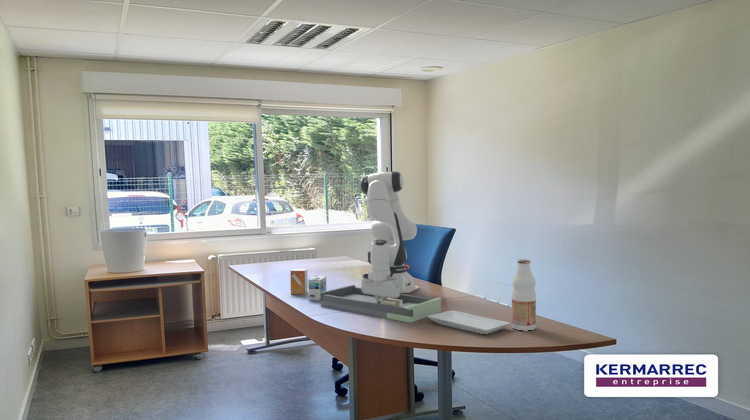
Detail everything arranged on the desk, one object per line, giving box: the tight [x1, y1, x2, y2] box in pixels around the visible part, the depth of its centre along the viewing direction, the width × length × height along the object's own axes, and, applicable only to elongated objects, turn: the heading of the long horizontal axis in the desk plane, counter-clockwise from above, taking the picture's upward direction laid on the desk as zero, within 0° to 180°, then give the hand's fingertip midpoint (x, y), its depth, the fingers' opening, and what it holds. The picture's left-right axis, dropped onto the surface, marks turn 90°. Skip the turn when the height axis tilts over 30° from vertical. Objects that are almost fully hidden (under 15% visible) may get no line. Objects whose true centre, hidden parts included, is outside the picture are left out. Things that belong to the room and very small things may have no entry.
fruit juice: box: [511, 259, 537, 332], centre depth 227 cm, size 9×9×28 cm
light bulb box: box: [308, 275, 327, 302], centre depth 289 cm, size 11×7×11 cm, turn 169°
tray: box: [426, 310, 512, 335], centre depth 232 cm, size 17×32×4 cm, turn 42°
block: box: [380, 298, 402, 307], centre depth 254 cm, size 6×8×4 cm
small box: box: [290, 268, 309, 296], centre depth 302 cm, size 8×6×13 cm
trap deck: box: [320, 284, 442, 323], centre depth 265 cm, size 24×54×6 cm, turn 51°
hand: (380, 305), depth 258 cm, fingers closed
